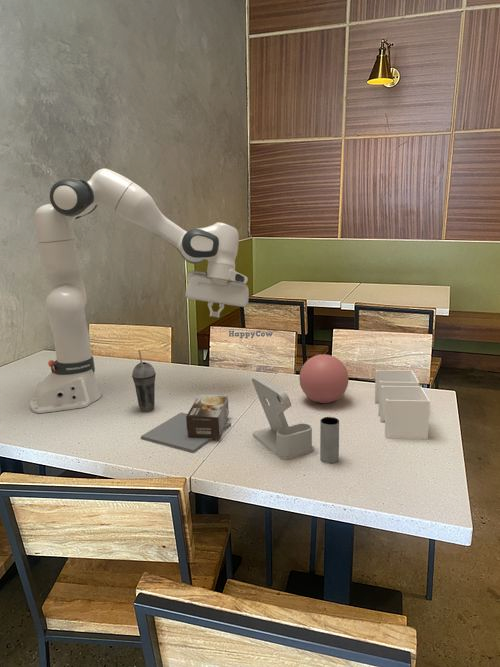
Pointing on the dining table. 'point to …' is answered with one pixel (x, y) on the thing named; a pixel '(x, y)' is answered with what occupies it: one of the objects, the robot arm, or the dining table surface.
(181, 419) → the mat
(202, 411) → the coffee box
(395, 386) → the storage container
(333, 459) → the gray cylinder
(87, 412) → the dining table surface
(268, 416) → the phone holder
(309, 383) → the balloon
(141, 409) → the beverage cup
